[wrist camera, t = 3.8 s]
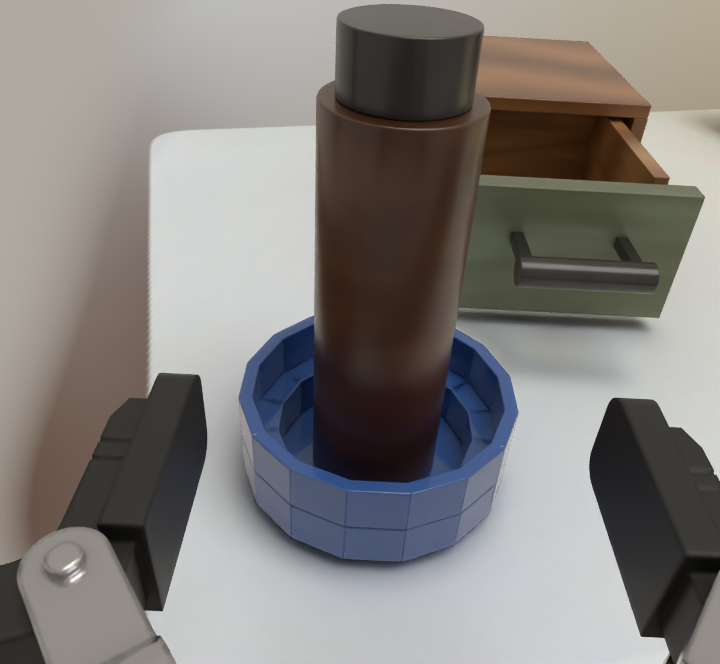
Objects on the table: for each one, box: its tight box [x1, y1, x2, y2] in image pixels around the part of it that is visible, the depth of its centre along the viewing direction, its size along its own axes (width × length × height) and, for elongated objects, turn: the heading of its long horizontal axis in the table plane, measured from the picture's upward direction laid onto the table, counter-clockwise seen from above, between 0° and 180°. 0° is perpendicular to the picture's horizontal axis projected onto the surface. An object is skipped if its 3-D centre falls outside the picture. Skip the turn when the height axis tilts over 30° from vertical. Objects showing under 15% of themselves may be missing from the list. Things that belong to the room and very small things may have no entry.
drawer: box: [459, 110, 705, 318], centre depth 37 cm, size 17×11×7 cm, turn 179°
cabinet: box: [475, 36, 651, 143], centre depth 47 cm, size 15×13×9 cm
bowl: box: [239, 316, 518, 562], centre depth 26 cm, size 10×10×4 cm
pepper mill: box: [313, 4, 491, 483], centre depth 22 cm, size 5×5×16 cm
